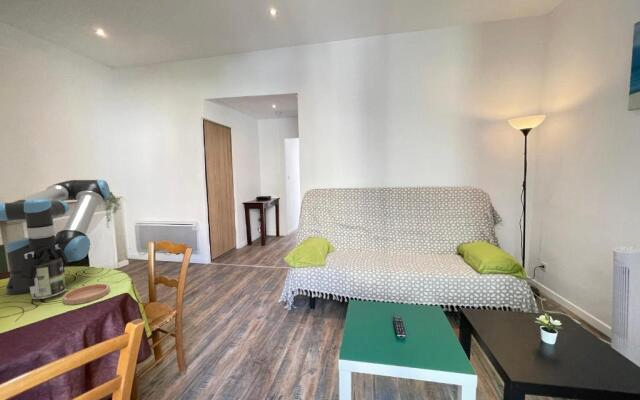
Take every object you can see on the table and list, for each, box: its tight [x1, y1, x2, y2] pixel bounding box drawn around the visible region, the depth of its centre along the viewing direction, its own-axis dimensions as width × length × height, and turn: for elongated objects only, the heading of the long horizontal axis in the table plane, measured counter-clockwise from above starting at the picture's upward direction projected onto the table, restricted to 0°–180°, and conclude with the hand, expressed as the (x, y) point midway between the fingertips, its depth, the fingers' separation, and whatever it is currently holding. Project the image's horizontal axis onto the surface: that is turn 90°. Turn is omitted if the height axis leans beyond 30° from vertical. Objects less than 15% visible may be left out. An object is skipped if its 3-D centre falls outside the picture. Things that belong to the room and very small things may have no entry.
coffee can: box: [31, 258, 67, 300], centre depth 108 cm, size 10×10×14 cm
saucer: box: [61, 283, 111, 306], centre depth 109 cm, size 15×15×2 cm
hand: (48, 287), depth 109 cm, fingers closed on coffee can, 10 cm apart
